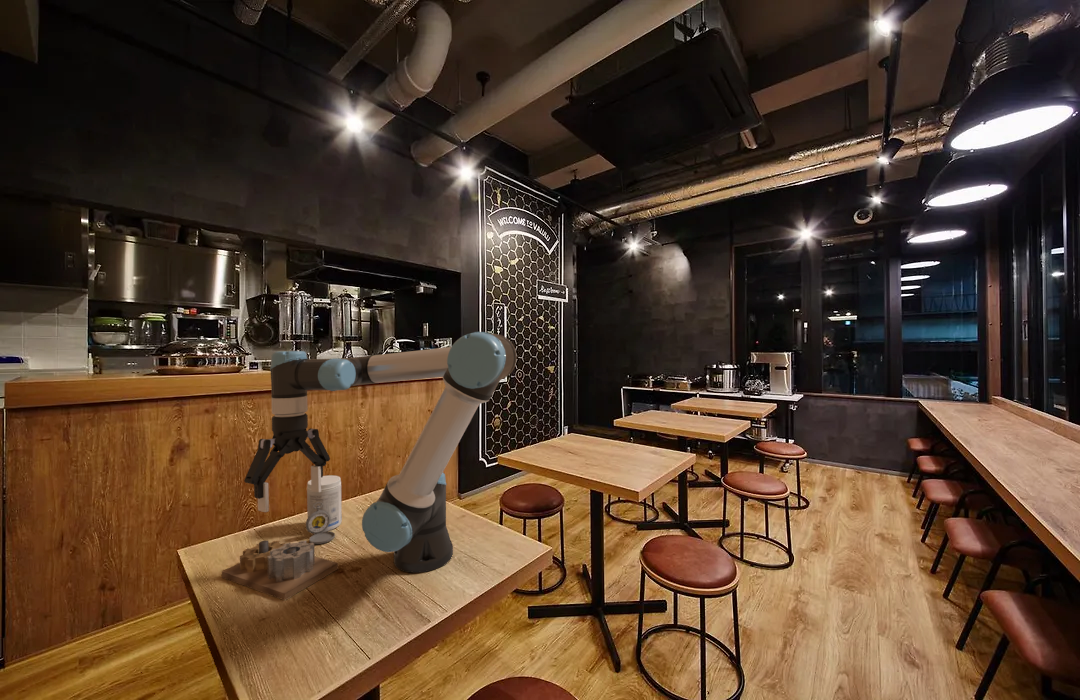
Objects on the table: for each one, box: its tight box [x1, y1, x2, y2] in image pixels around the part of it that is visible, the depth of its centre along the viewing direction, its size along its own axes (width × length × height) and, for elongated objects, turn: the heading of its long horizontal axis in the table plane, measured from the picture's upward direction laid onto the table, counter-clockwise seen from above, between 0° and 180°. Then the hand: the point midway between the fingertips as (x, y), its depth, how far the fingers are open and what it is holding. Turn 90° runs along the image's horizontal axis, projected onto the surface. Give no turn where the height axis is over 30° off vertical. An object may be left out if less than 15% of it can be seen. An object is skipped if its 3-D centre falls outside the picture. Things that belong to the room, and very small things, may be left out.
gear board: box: [221, 539, 339, 601], centre depth 103 cm, size 23×14×6 cm, turn 66°
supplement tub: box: [306, 475, 343, 532], centre depth 129 cm, size 10×10×15 cm
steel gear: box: [267, 540, 316, 582], centre depth 101 cm, size 10×10×5 cm
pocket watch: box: [305, 502, 336, 545], centre depth 121 cm, size 8×8×10 cm
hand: (291, 500), depth 101 cm, fingers open, 13 cm apart
